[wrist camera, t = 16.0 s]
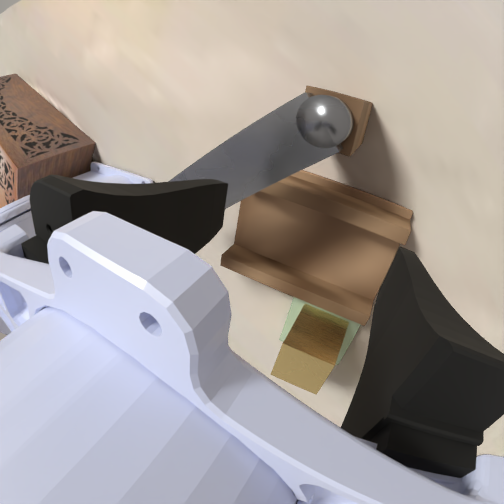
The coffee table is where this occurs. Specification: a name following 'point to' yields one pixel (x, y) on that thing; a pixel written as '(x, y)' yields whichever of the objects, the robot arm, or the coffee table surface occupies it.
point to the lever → (276, 146)
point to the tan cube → (310, 349)
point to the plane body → (321, 234)
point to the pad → (298, 305)
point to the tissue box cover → (36, 141)
